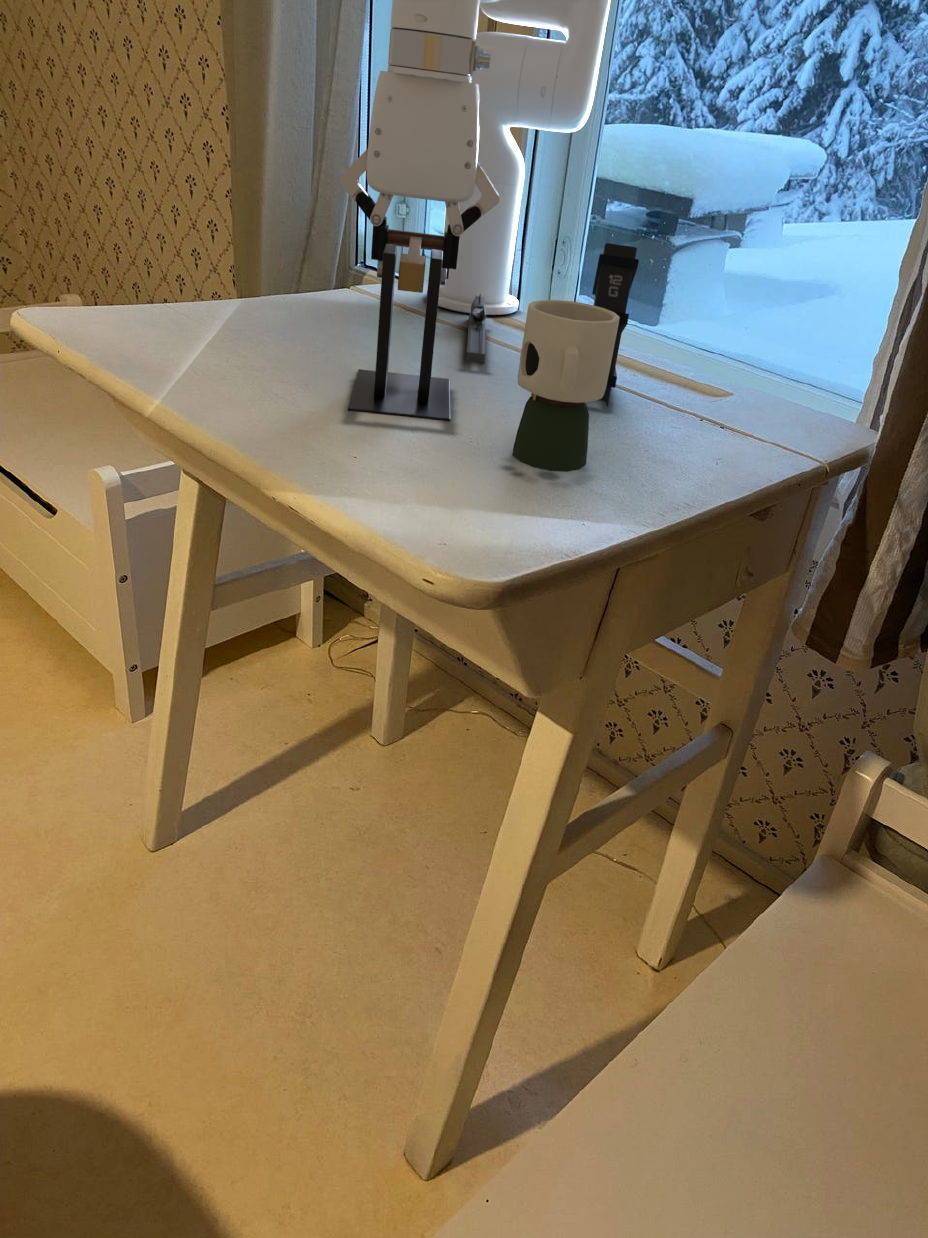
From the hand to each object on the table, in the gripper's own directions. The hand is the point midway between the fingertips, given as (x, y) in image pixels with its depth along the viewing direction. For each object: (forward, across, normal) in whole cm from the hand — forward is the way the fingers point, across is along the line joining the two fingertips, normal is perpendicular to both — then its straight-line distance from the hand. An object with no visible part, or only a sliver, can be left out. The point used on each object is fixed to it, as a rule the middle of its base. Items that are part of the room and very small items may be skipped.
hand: (413, 270), depth 91 cm
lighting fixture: (+10, -8, -12) cm, 18 cm away
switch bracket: (+10, 0, +11) cm, 15 cm away
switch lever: (-1, 0, +5) cm, 5 cm away
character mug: (+11, -13, +23) cm, 28 cm away
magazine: (+10, -20, -1) cm, 23 cm away
